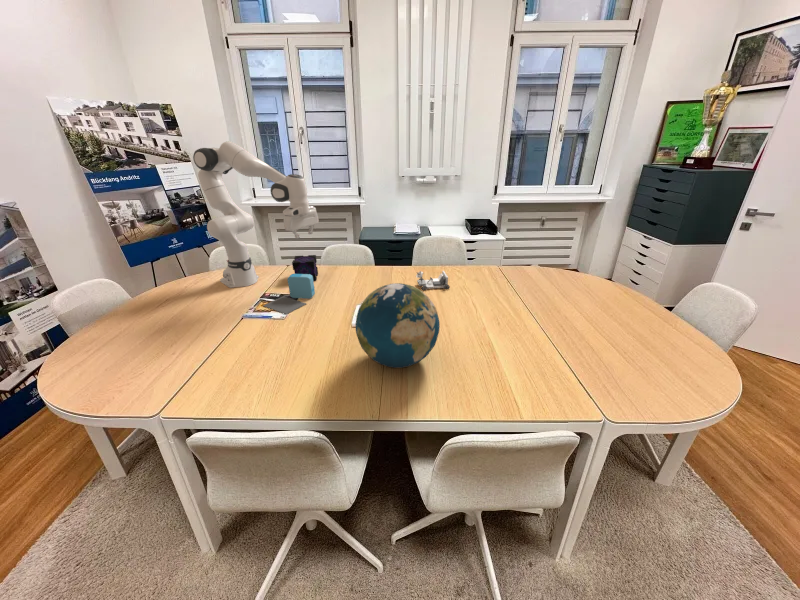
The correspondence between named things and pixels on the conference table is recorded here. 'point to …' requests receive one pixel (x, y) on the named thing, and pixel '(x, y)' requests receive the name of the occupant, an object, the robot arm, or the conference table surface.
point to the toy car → (433, 281)
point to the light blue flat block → (301, 286)
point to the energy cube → (305, 265)
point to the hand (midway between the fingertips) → (304, 236)
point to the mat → (284, 305)
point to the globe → (397, 325)
